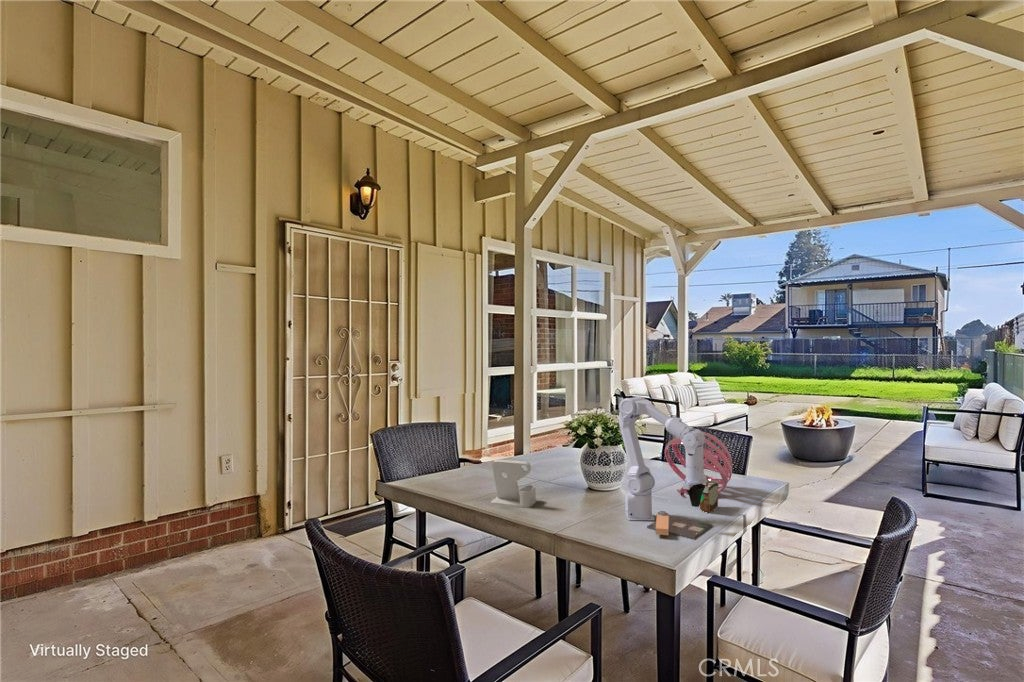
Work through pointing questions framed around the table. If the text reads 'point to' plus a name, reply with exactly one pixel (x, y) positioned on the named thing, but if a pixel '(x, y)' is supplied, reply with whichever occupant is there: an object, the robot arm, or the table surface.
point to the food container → (709, 496)
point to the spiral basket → (704, 461)
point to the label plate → (684, 527)
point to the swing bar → (662, 523)
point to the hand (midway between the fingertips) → (695, 506)
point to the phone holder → (512, 484)
